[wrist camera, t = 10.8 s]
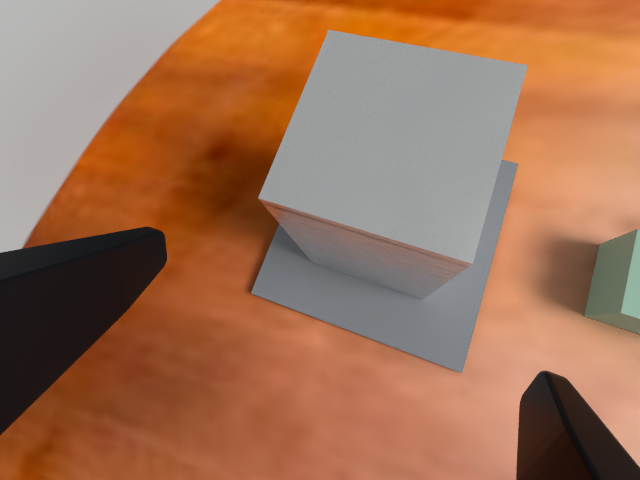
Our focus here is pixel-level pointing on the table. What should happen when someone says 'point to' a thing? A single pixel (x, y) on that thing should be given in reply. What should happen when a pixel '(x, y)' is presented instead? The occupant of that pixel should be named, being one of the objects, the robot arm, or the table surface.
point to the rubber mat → (390, 293)
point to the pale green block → (617, 283)
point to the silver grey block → (393, 160)
